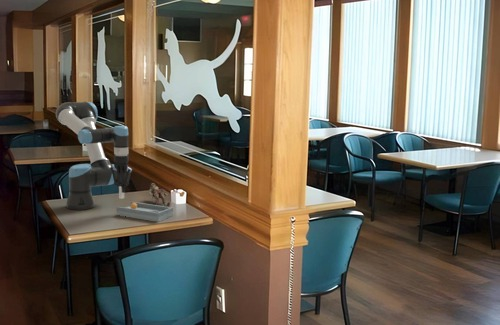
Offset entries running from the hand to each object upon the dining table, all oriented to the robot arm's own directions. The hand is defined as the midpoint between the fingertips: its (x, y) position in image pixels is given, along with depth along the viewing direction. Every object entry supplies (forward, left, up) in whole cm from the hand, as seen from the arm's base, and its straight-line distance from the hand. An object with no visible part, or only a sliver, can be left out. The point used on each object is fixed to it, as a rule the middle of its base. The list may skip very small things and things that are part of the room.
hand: (121, 198), depth 315 cm
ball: (+8, 0, -4) cm, 8 cm away
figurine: (+8, +25, -8) cm, 27 cm away
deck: (+15, 0, -8) cm, 17 cm away
